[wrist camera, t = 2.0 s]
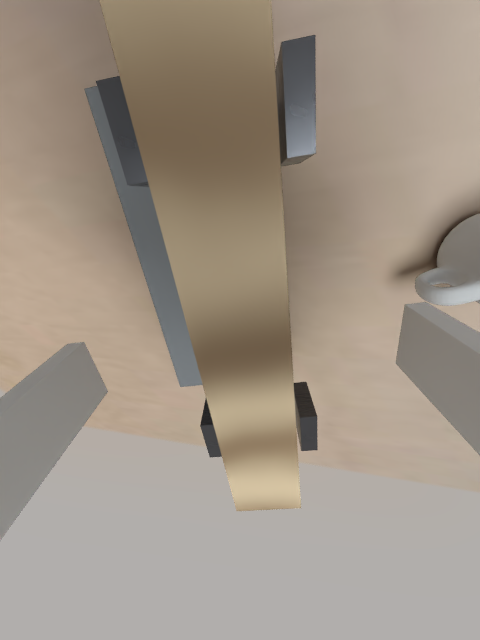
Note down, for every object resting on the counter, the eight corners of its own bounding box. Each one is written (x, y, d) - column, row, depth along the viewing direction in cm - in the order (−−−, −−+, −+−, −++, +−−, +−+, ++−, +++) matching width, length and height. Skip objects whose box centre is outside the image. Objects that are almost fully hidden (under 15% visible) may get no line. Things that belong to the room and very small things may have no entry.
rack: (180, 125, 19) (75, 14, 7) (272, 108, 18) (314, -42, 7) (227, 359, 29) (214, 471, 17) (288, 353, 28) (317, 464, 16)
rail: (149, 19, 9) (62, -137, 5) (253, -4, 9) (259, -195, 5) (239, 440, 20) (236, 511, 16) (288, 437, 20) (301, 508, 15)
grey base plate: (87, 90, 18) (84, 88, 18) (160, 75, 18) (159, 73, 17) (181, 384, 31) (180, 386, 30) (225, 380, 30) (225, 382, 30)
